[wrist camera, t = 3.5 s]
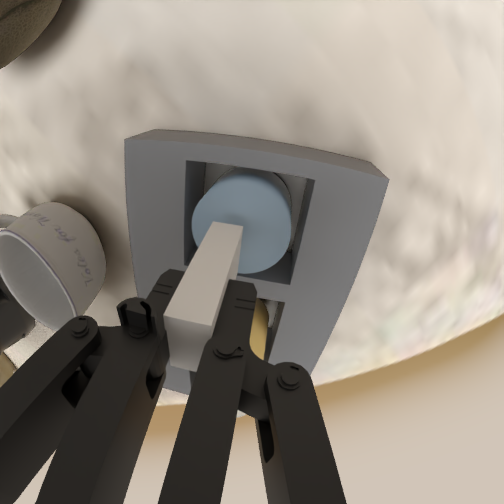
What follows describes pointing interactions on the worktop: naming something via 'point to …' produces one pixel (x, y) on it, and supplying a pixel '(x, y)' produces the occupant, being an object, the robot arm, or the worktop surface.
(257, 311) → the button ochre
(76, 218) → the teacup
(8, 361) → the planter bowl
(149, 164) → the three ball holder
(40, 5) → the smooth brown stone
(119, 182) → the worktop surface
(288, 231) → the button blue
